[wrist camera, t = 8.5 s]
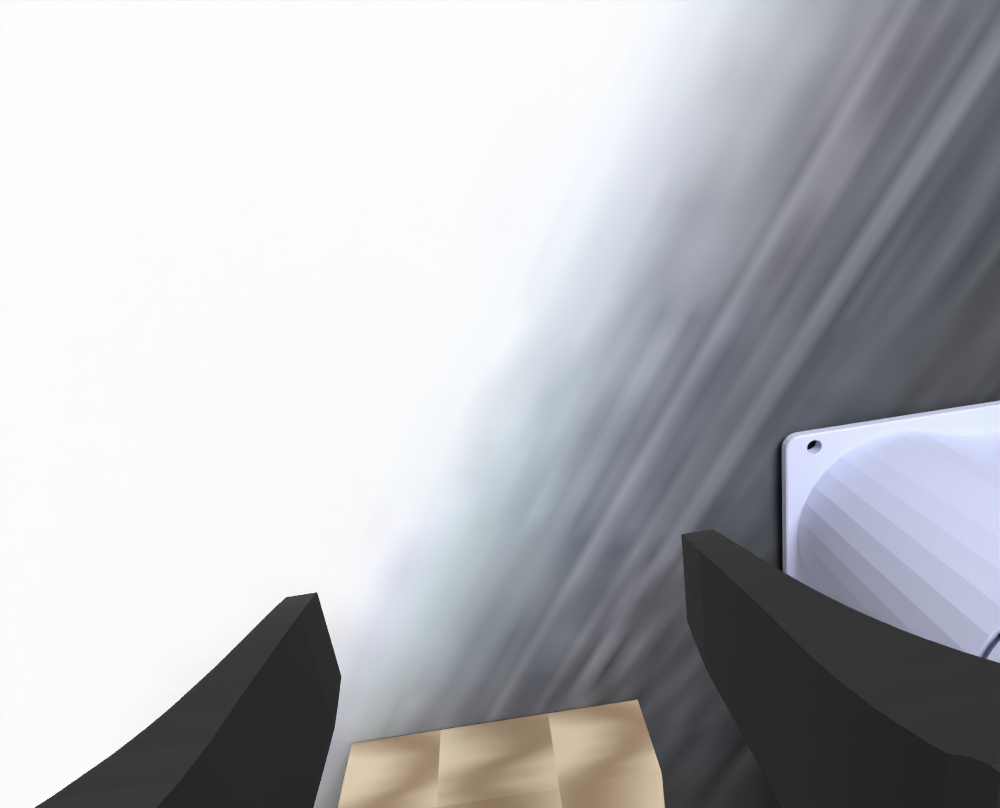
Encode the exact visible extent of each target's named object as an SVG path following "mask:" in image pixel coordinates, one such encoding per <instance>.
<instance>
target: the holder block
mask: <svg viewBox="0 0 1000 808" xmlns="http://www.w3.org/2000/svg"><path fill="white" fill-rule="evenodd" d="M338 808H665V806H664V795H663V783H662V773H661V769H660V766H659V763H658V760H657V757H656V754H655V751H654V748H653V745H652V742H651V739H650V736H649V733H648V730H647V727H646V724H645V721H644V718H643V715H642V712H641V709H640V706H639V703H638V700H632V701H625V702H619V703H612V704H606V705H599V706H593V707H586V708H580V709H573V710H567V711H560V712H554V713H547V714H541V715H534V716H528V717H521V718H515V719H508V720H502V721H495V722H489V723H482V724H476V725H469V726H463V727H456V728H450V729H443V730H437V731H430V732H424V733H417V734H411V735H404V736H398V737H391V738H385V739H378V740H372V741H365V742H359V743H352V744H351V749H350V753H349V758H348V763H347V767H346V772H345V777H344V781H343V786H342V790H341V795H340V800H339V804H338Z"/></svg>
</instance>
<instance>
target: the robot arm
mask: <svg viewBox="0 0 1000 808" xmlns="http://www.w3.org/2000/svg"><path fill="white" fill-rule="evenodd" d="M813 440H816V444H815V446H814V447H813V448H812V449H809V450H807V446H808V444H809V443H810V442H811V441H813ZM782 532H783V572H782V571H781V570H779V569H777V568H775V567H774V566H772V565H770V564H769V563H767V562H765V561H764V560H762V559H761V558H759V557H757V556H756V555H754V554H752V553H751V552H749V551H748V550H746V549H744V548H743V547H741V546H739V545H738V544H736V543H735V542H733V541H731V540H730V539H728V538H726V537H725V536H723V535H721V534H720V533H718V532H716V531H714V530H713V529H712V530H706V531H700V532H693V533H687V534H682V548H683V563H684V578H685V593H686V608H687V622H688V624H689V627H690V630H691V632H692V635H693V637H694V640H695V642H696V645H697V648H698V650H699V652H700V655H701V657H702V660H703V662H704V665H705V667H706V669H707V671H708V673H709V675H710V677H711V679H712V680H713V682H714V684H715V686H716V688H717V690H718V691H719V693H720V695H721V697H722V699H723V701H724V702H725V704H726V706H727V708H728V710H729V711H730V713H731V715H732V717H733V719H734V720H735V722H736V724H737V726H738V728H739V729H740V731H741V733H742V735H743V737H744V738H745V740H746V742H747V744H748V746H749V747H750V749H751V751H752V753H753V755H754V756H755V758H756V760H757V762H758V764H759V765H760V767H761V769H762V771H763V773H764V775H765V777H766V779H767V780H768V782H769V784H770V786H771V788H772V790H773V792H774V794H775V796H776V798H777V801H778V803H779V805H780V807H781V808H1000V401H995V402H988V403H982V404H975V405H969V406H963V407H956V408H950V409H943V410H937V411H930V412H924V413H918V414H911V415H905V416H898V417H892V418H886V419H879V420H873V421H866V422H860V423H854V424H847V425H841V426H834V427H828V428H822V429H815V430H809V431H802V432H796V433H793V434H790V435H789V436H788V437H786V438H785V440H784V441H783V444H782ZM340 683H341V674H340V671H339V667H338V664H337V660H336V657H335V653H334V650H333V646H332V643H331V639H330V636H329V632H328V629H327V625H326V622H325V618H324V615H323V611H322V608H321V604H320V601H319V597H318V594H317V593H310V594H304V595H298V596H292V597H286V598H285V599H284V600H283V601H282V602H281V603H279V604H278V605H277V606H276V607H275V608H274V609H273V610H272V611H271V612H270V613H269V614H268V615H267V616H266V617H265V618H264V619H263V620H262V621H261V622H260V623H259V624H258V625H257V626H256V627H255V628H254V629H253V630H252V631H251V632H250V633H249V634H248V635H247V636H246V637H245V638H244V639H243V640H242V641H241V642H240V643H239V644H238V645H237V646H236V647H235V648H234V649H233V650H232V651H231V652H230V653H229V654H228V655H227V656H226V657H225V658H224V659H223V660H222V661H221V662H220V663H219V664H218V665H217V666H216V667H215V668H214V669H213V670H211V671H210V672H209V673H208V674H207V675H206V676H205V677H204V678H203V679H202V680H201V681H199V682H198V683H197V684H196V685H195V686H194V687H193V688H192V689H191V690H190V691H189V692H187V693H186V694H185V695H184V696H183V697H182V698H181V699H180V700H179V701H178V702H177V703H175V704H174V705H173V706H172V707H171V708H170V709H169V710H167V711H166V712H165V713H164V714H163V715H162V716H160V717H159V718H158V719H157V720H156V721H154V722H153V723H152V724H151V725H150V726H148V727H147V728H146V729H145V730H143V731H142V732H141V733H139V734H138V735H137V736H136V737H134V738H133V739H132V740H131V741H129V742H128V743H127V744H125V745H124V746H123V747H122V748H120V749H119V750H118V751H116V752H115V753H114V754H112V755H111V756H110V757H108V758H107V759H105V760H104V761H103V762H101V763H100V764H98V765H97V766H95V767H94V768H92V769H91V770H90V771H88V772H87V773H85V774H84V775H82V776H81V777H80V778H78V779H77V780H75V781H74V782H72V783H71V784H69V785H68V786H67V787H65V788H64V789H62V790H61V791H59V792H58V793H57V794H55V795H54V796H52V797H51V798H49V799H47V800H46V801H44V802H43V803H41V804H40V805H38V806H36V807H35V808H313V807H314V803H315V799H316V795H317V792H318V788H319V784H320V781H321V777H322V773H323V770H324V766H325V762H326V758H327V755H328V751H329V747H330V743H331V739H332V735H333V731H334V727H335V721H336V714H337V707H338V699H339V691H340Z"/></svg>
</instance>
